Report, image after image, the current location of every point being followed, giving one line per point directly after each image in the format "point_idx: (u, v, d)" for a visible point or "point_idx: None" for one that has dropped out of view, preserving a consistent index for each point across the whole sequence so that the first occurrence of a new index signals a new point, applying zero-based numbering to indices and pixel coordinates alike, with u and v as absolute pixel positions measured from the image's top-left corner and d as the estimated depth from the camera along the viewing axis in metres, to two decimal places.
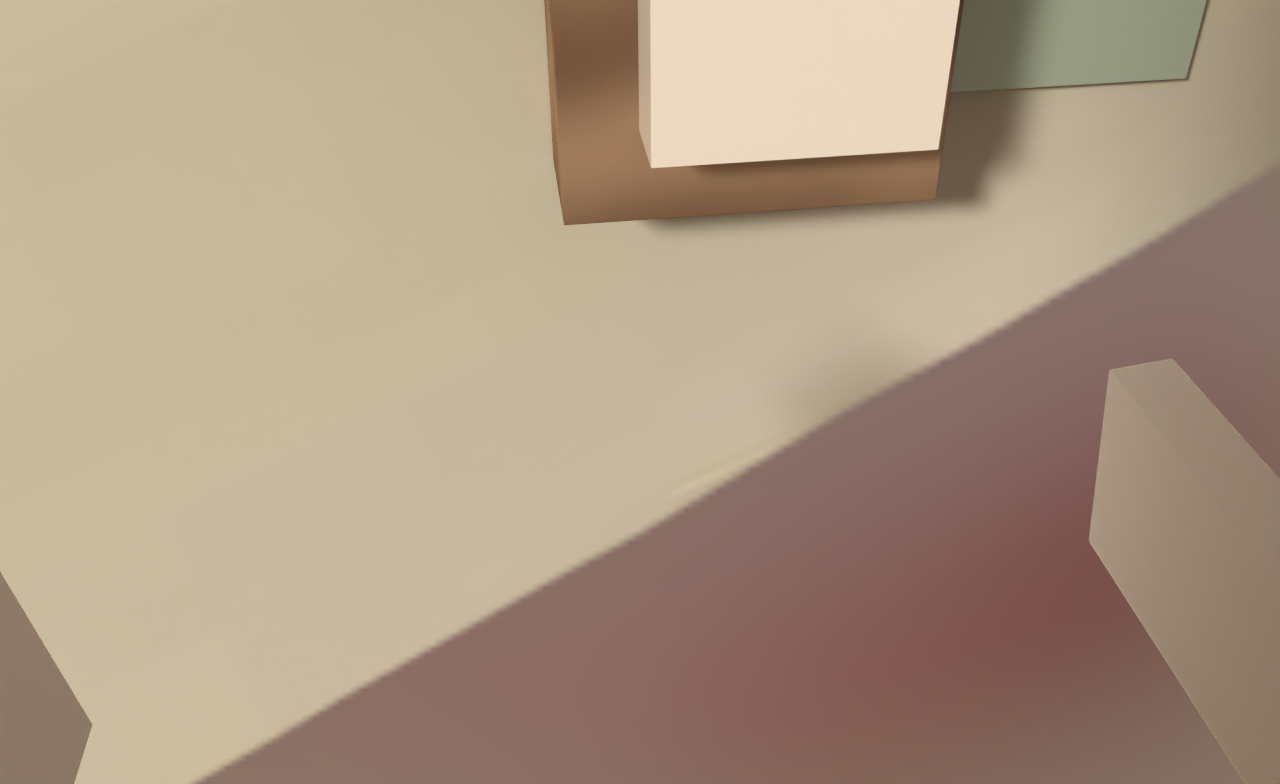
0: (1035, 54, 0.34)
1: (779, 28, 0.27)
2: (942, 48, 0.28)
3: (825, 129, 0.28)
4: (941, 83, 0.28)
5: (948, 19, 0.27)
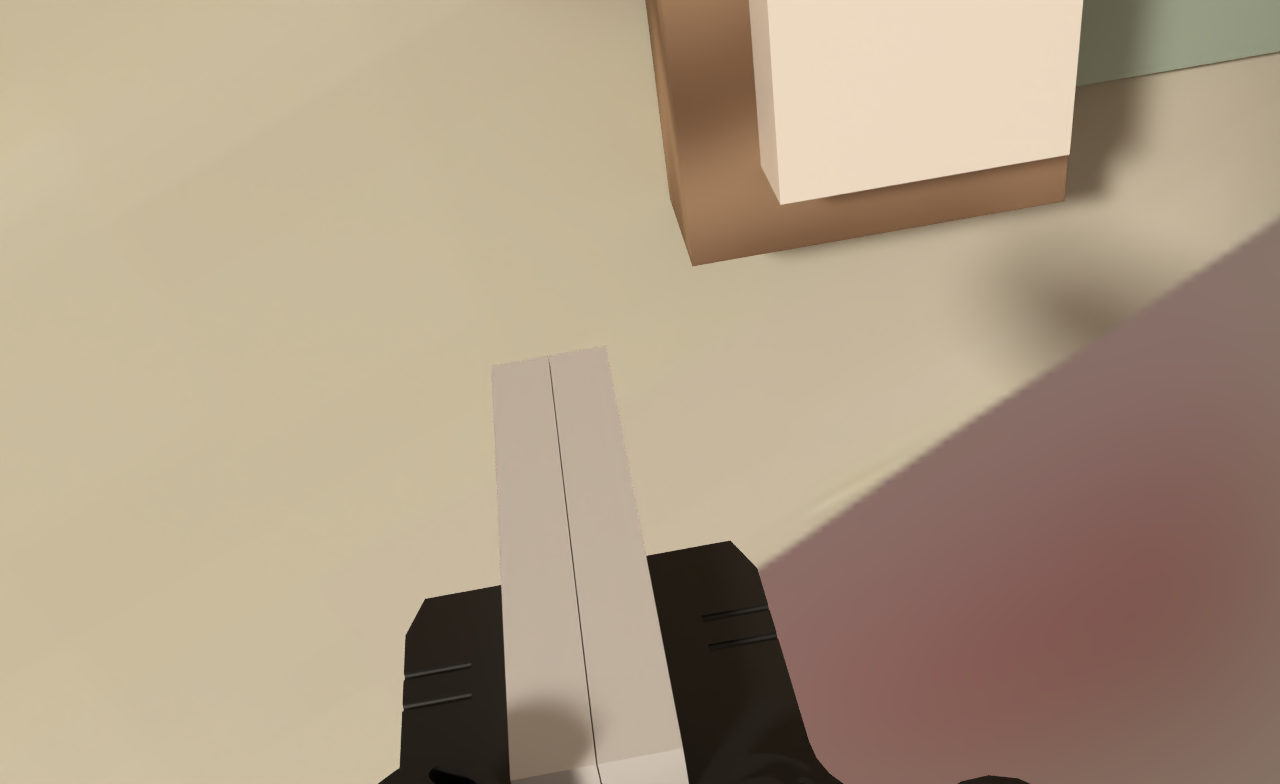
0: (1151, 40, 0.34)
1: (900, 53, 0.27)
2: (1067, 54, 0.27)
3: (953, 147, 0.28)
4: (1069, 88, 0.28)
5: (1072, 24, 0.27)
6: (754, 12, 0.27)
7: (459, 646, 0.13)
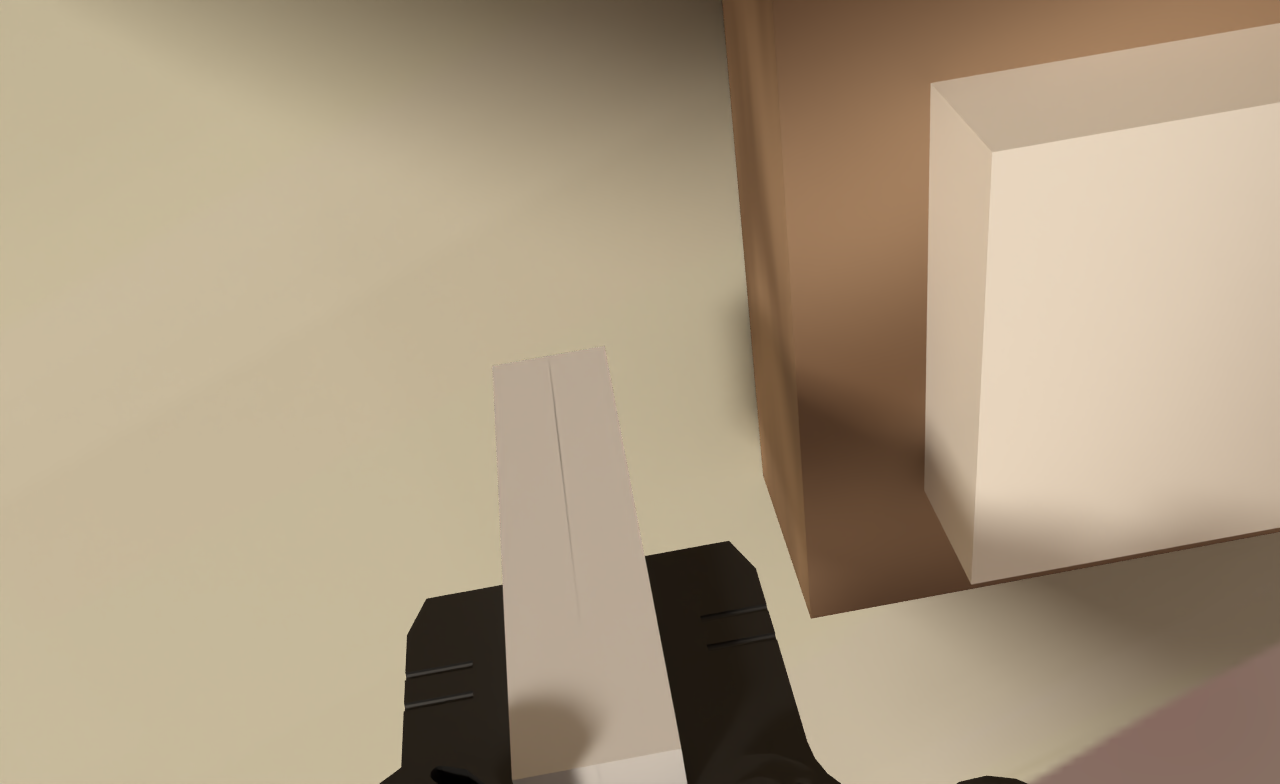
0: None
1: (1190, 377, 0.16)
2: None
3: (1250, 498, 0.18)
4: None
5: None
6: (942, 297, 0.17)
7: (460, 646, 0.13)
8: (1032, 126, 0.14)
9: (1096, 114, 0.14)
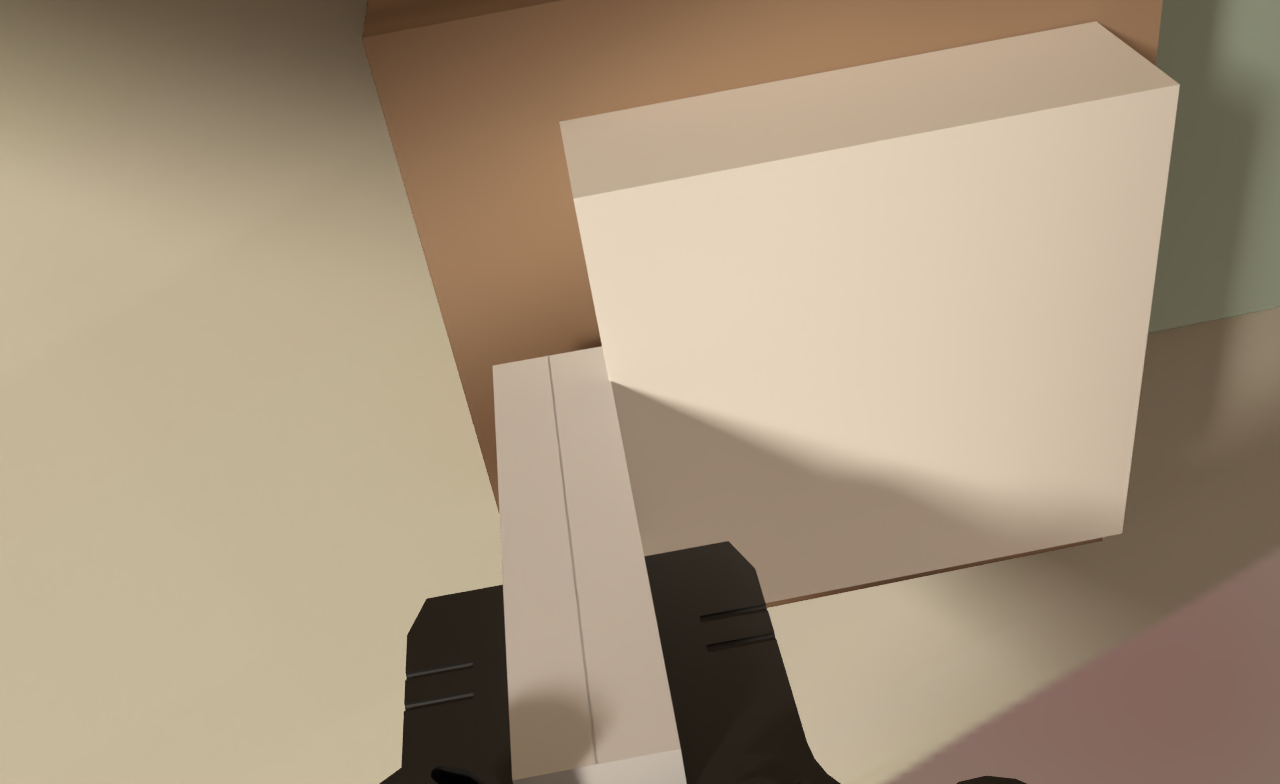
0: (1226, 275, 0.23)
1: (840, 416, 0.16)
2: (1121, 402, 0.16)
3: (933, 534, 0.17)
4: (1122, 448, 0.17)
5: (1130, 360, 0.16)
6: None
7: (461, 646, 0.13)
8: (626, 169, 0.14)
9: (693, 156, 0.14)
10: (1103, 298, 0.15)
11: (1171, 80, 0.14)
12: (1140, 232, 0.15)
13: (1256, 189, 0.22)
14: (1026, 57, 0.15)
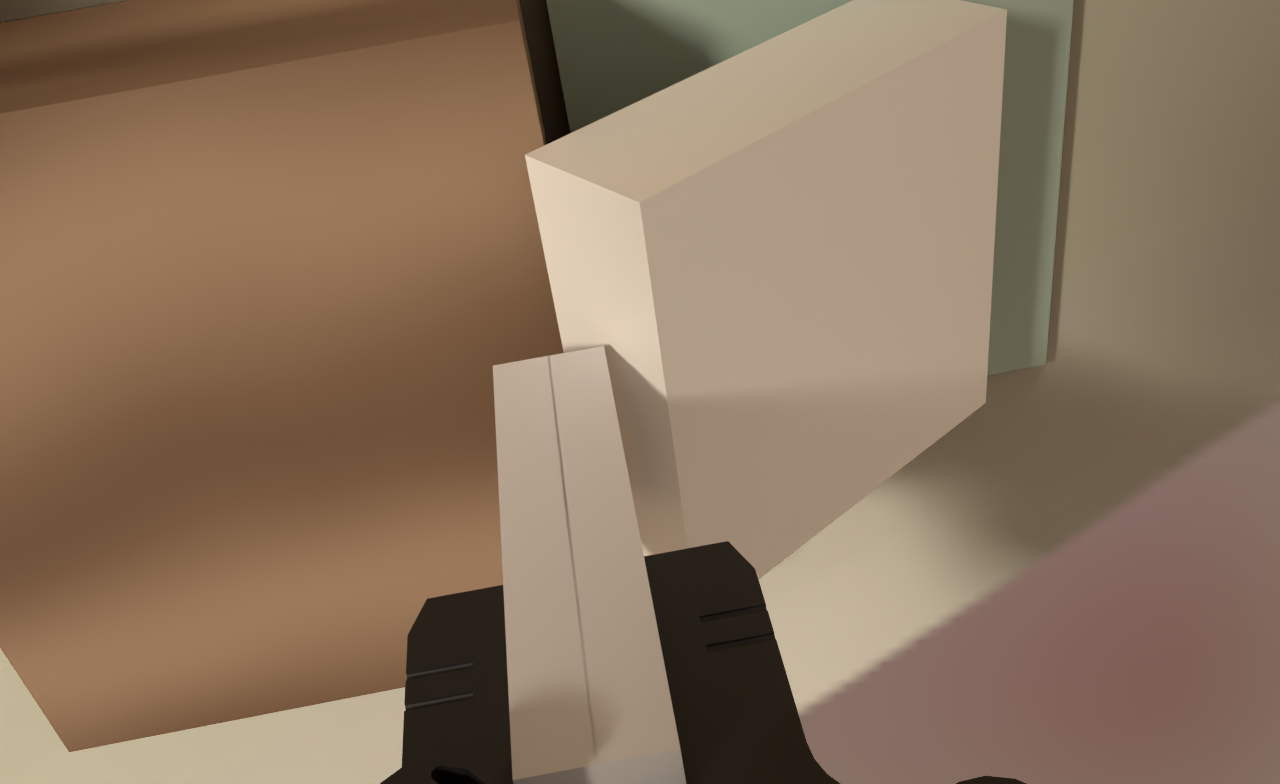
0: None
1: (822, 360, 0.17)
2: (983, 287, 0.20)
3: (880, 451, 0.19)
4: (984, 327, 0.20)
5: (987, 250, 0.19)
6: None
7: (461, 646, 0.13)
8: (655, 169, 0.14)
9: (701, 145, 0.15)
10: (972, 200, 0.18)
11: (997, 8, 0.17)
12: (990, 137, 0.18)
13: None
14: (869, 17, 0.17)
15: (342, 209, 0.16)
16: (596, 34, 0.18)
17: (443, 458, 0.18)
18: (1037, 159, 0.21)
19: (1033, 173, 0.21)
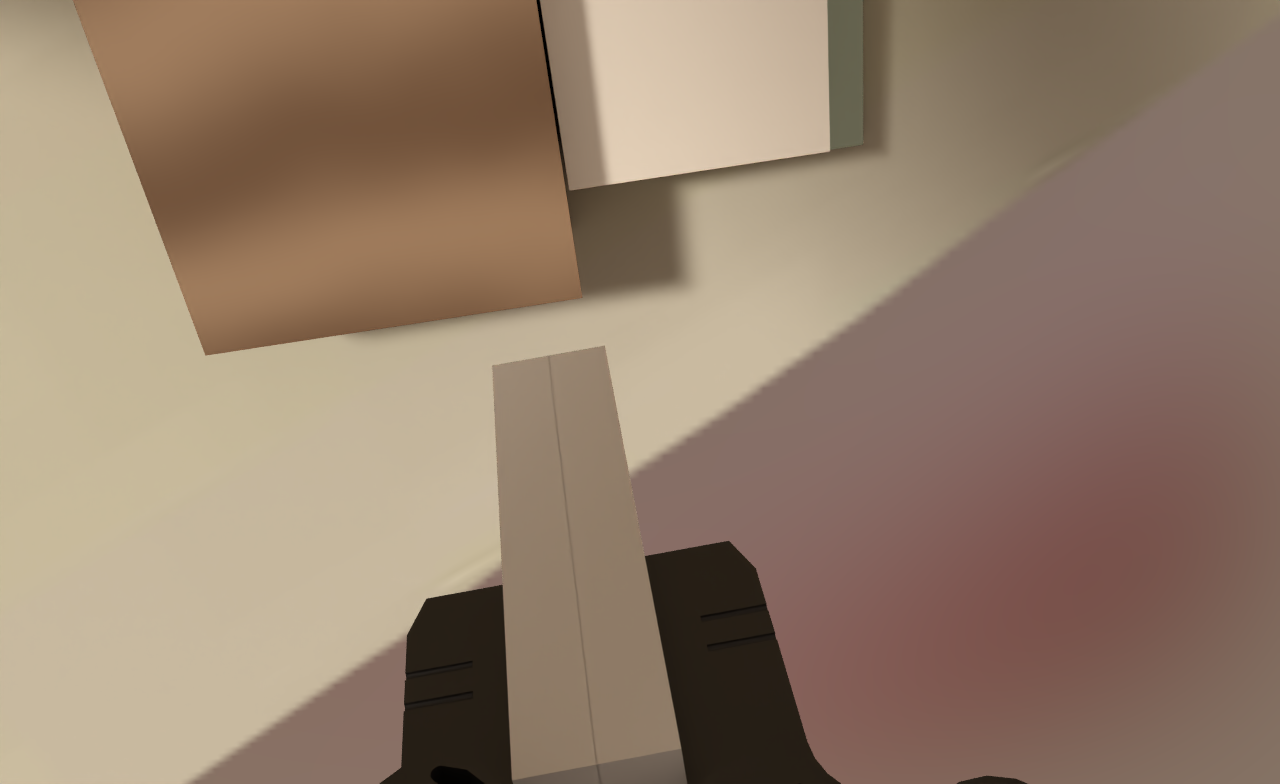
0: None
1: (666, 57, 0.30)
2: (818, 61, 0.31)
3: (723, 142, 0.32)
4: (823, 92, 0.31)
5: (820, 34, 0.30)
6: (542, 18, 0.31)
7: (460, 646, 0.13)
8: None
9: None
10: None
11: None
12: None
13: None
14: None
15: None
16: None
17: (458, 145, 0.29)
18: None
19: (845, 1, 0.32)
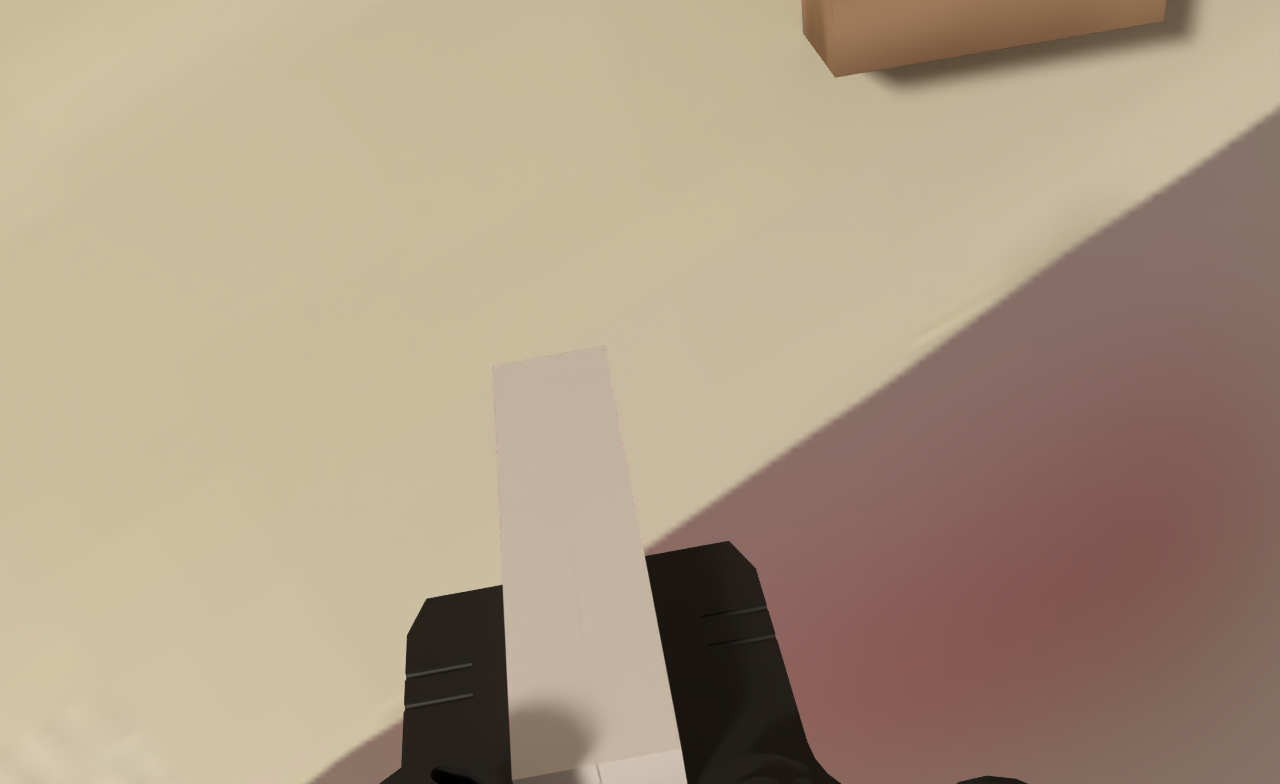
0: None
1: None
2: None
3: None
4: None
5: None
6: None
7: (460, 646, 0.13)
8: None
9: None
10: None
11: None
12: None
13: None
14: None
15: None
16: None
17: None
18: None
19: None
